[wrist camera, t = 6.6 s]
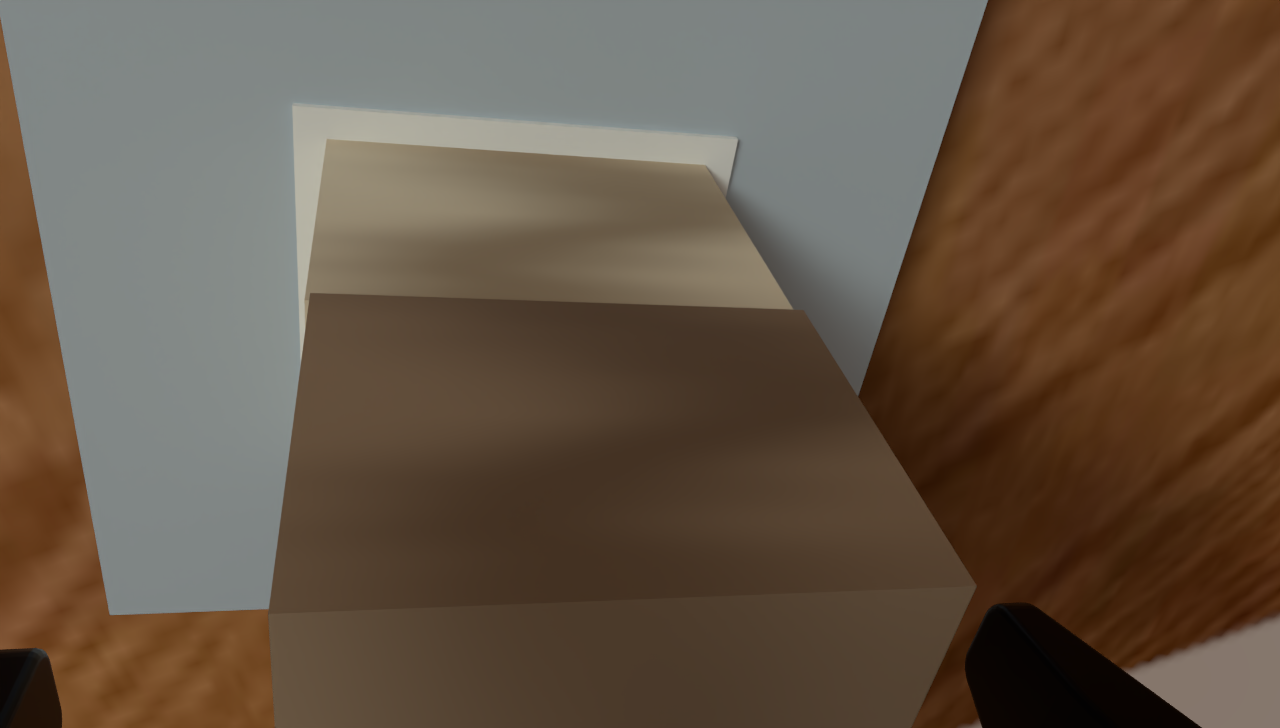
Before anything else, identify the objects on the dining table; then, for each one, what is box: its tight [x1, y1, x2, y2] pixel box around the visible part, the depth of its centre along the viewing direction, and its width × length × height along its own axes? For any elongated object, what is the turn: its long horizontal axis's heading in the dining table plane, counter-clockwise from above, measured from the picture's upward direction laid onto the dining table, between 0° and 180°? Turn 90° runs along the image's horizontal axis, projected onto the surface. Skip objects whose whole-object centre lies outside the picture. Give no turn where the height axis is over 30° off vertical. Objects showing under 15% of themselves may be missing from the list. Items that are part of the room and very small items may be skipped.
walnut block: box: [268, 293, 977, 728], centre depth 10 cm, size 5×5×4 cm
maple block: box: [304, 139, 794, 328], centre depth 13 cm, size 5×5×4 cm
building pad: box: [0, 0, 988, 615], centre depth 15 cm, size 12×12×1 cm
